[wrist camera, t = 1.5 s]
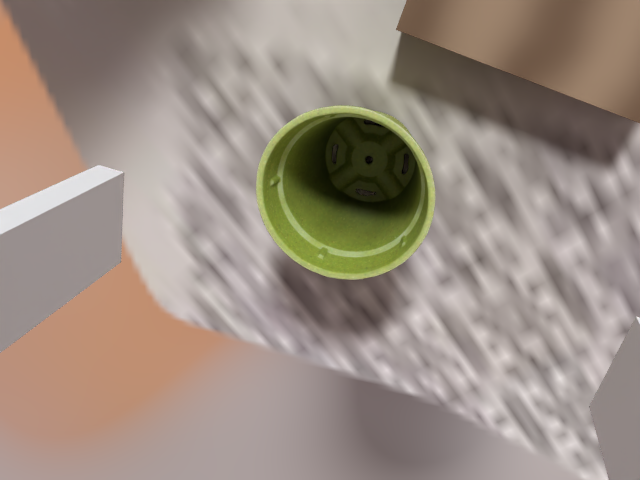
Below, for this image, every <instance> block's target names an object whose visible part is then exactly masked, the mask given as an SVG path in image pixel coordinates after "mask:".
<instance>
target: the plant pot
mask: <svg viewBox="0 0 640 480" xmlns="http://www.w3.org/2000/svg"><path fill="white" fill-rule="evenodd" d="M365 120H370V121H373V122H376V123H378V124H380V125H382V126H384V127H381V126H377V125H371V124H369V125H366V124H364V121H365ZM335 144H338V150H337V154H336V164H334V163H333V162H332V149H333V146H334V145H335ZM406 153H407V154H408V155H409V160H408V165H409V168H408V170H407V172H406V173H405V174H402V169H403V164H404V154H406ZM367 156H371V157H372V158H373V160H372V163H370V164H368V163H366V161H365V159H366V157H367ZM357 188H360V189H362V190H366V191H372V192H376V194H374V195H369V196H366V195H361V194H359V193H357V192H356V189H357ZM256 196H257V203H258V207H259V211H260V214H261V217H262V220H263V222H264V225H265V226H266V229H267V230H268V232H269V234H270V235H271V237H272V238H273V240H274V241H275V242H276V243H277V245H278V246H279V247H280V248H281V249H282V250H283V251H284V252H285V253H286V254H287V255H288V256H289V257H290V258H291V259H293V260H294V261H295V262H296V263H298V264H300V265H301V266H303V267H305V268H306V269H308V270H310V271H313V272H315V273H318V274H320V275H323V276H326V277H330V278H337V279H346V280H358V279H364V278H370V277H374V276H378V275H381V274H384V273H386V272H389V271H391V270H392V269H394V268H396V267H398V266H399V265H401V264H402V263H403V262H405V261H406V260H407V259H408V258H409V257H410V256H411V255H412V254H413V253H414V252H415V251H416V250H417V249H418V247H419V246H420V245H421V243H422V242H423V240H424V239H425V237H426V235H427V233H428V231H429V228H430V225H431V222H432V219H433V214H434V209H435V186H434V179H433V175H432V172H431V169H430V165H429V163H428V161H427V159H426V157H425V155H424V153H423V151H422V149H421V148H420V146H419V145H418V144H417V142H416V141H415V140H414V138H413V137H412V136H411V134H410V133H409V131H408V130H407V129H406V127H405V126H404V125H403V124H402V123H401V122H399V121H398V120H397V119H395V118H394V117H392V116H390V115H387V114H385V113H382V112H377V111H372V110H369V109H366V108H362V107H355V106H330V107H324V108H319V109H315V110H312V111H309V112H306V113H304V114H302V115H300V116H298V117H296V118H295V119H293V120H291V121H290V122H289V123H287V124H286V125H285V126H283V127H282V128H281V129H280V130H279V131H278V132H277V133H276V134H275V135H274V137H273V138H272V139H271V140H270V142H269V143H268V145H267V147H266V149H265V151H264V153H263V155H262V157H261V160H260V163H259V167H258V171H257V180H256Z"/></svg>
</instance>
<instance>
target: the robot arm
mask: <svg viewBox="0 0 640 480" xmlns="http://www.w3.org/2000/svg"><path fill="white" fill-rule="evenodd" d="M123 188H124V172H121V171H118V170H114V169H111V168H107V167H104V166H100V165H97V166H95V167H93V168H90V169H88V170H86V171H84V172H82V173H79V174H77V175H75V176H73V177H71V178H68V179H66V180H64V181H62V182H59V183H57V184H55V185H53V186H51V187H48V188H46V189H44V190H42V191H39V192H38V193H35V194H33V195H31V196H28V197H26V198H24V199H22V200H19V201H17V202H15V203H13V204H11V205H8V206H6V207H4V208H2V209H0V353H1V352H2V351H3V350H5V349H6V348H7V347H8V346H10V345H11V344H12V343H14V342H15V341H17V340H18V339H19V338H21V337H22V336H23V335H25V334H26V333H27V332H28V331H30V330H31V329H33V328H34V327H35V326H36V325H38V324H39V323H41V322H42V321H43V320H44V319H46V318H47V317H49V316H50V315H51V314H53V313H54V312H55V311H56V310H58V309H59V308H61V307H62V306H63V305H64V304H66V303H67V302H69V301H70V300H71V299H73V298H74V297H75V296H76V295H78V294H79V293H80V292H82V291H83V290H84V289H86V288H87V287H88V286H90V285H91V284H92V283H94V282H95V281H96V280H98V279H99V278H100V277H102V276H103V275H104V274H106V273H107V272H108V271H110V270H111V269H112V268H114V267H115V266H116V265H118V264H119V263H120V262H121V247H122V217H123ZM589 407H590V411H591V415H592V419H593V422H594V426H595V430H596V434H597V437H598V441H599V445H600V448H601V452H602V456H603V460H604V463H605V467H606V471H607V474H608V478H609V480H640V317H636V318H635V319H634V321H633V323H632V325H631V327H630V329H629V331H628V333H627V335H626V337H625V339H624V341H623V343H622V344H621V346H620V348H619V350H618V352H617V354H616V356H615V358H614V360H613V362H612V364H611V366H610V367H609V369H608V371H607V373H606V375H605V377H604V379H603V381H602V383H601V385H600V387H599V389H598V391H597V392H596V394H595V396H594V398H593V400H592V402H591V404H590V406H589Z"/></svg>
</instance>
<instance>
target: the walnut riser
mask: <svg viewBox="0 0 640 480" xmlns="http://www.w3.org/2000/svg"><path fill="white" fill-rule="evenodd" d="M396 30H398V31H401V32H403V33H406V34H409V35H411V36H414V37H416V38H419V39H422V40H424V41H427V42H429V43H432V44H435V45H437V46H440V47H442V48H445V49H448V50H450V51H453V52H455V53H458V54H461V55H463V56H466V57H469V58H471V59H474V60H476V61H479V62H482V63H484V64H487V65H489V66H492V67H495V68H497V69H500V70H502V71H505V72H508V73H510V74H513V75H515V76H518V77H521V78H523V79H526V80H529V81H531V82H534V83H536V84H539V85H542V86H544V87H547V88H549V89H552V90H555V91H557V92H560V93H562V94H565V95H568V96H570V97H573V98H575V99H578V100H581V101H583V102H586V103H589V104H591V105H594V106H596V107H599V108H602V109H604V110H607V111H609V112H612V113H615V114H617V115H620V116H622V117H625V118H628V119H630V120H633V121H636V122H638V123H640V0H407V1H406V4H405V7H404V9H403V12H402V15H401V18H400V20H399V23H398V26H397V28H396Z"/></svg>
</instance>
